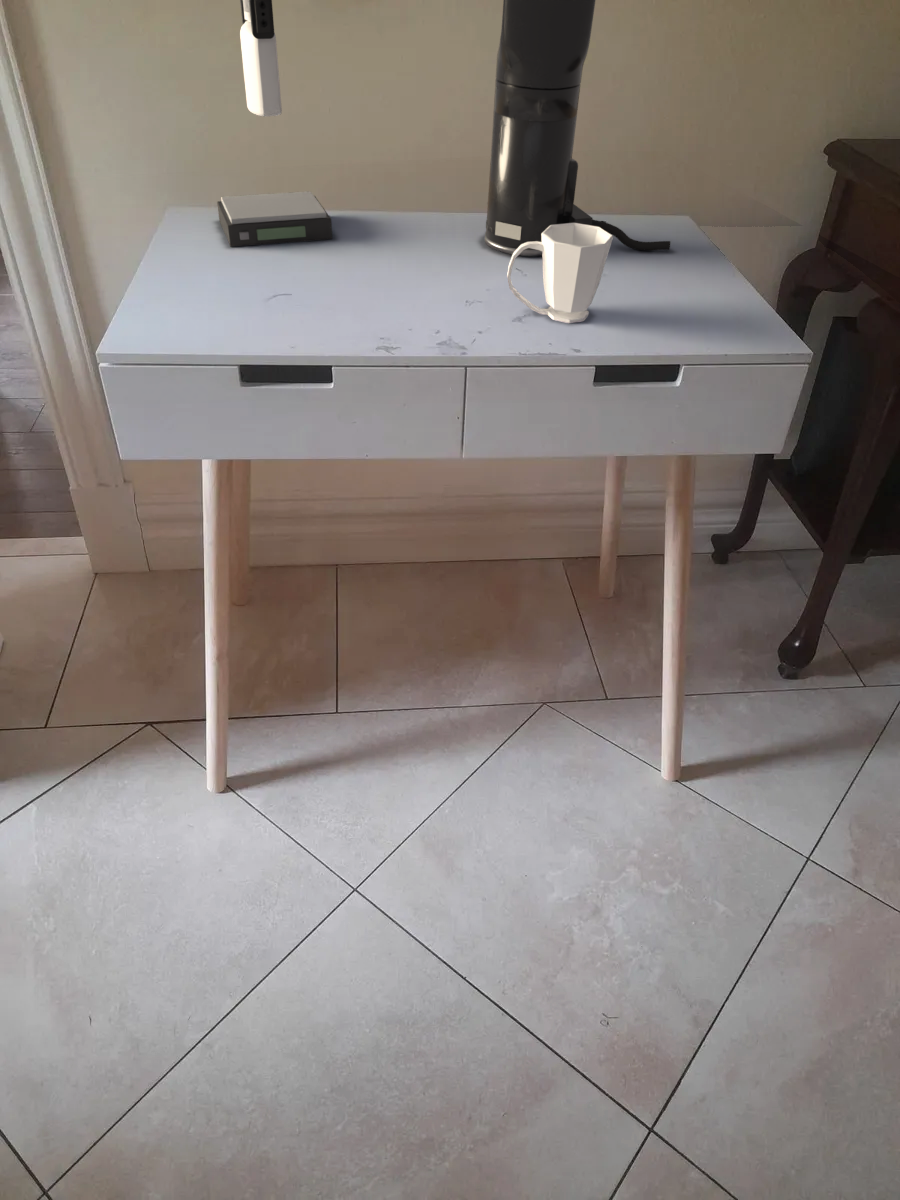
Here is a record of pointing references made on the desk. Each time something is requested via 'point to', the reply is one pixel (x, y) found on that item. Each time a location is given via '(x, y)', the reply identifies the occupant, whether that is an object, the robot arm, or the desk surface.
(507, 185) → the robot arm
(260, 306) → the desk surface
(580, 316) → the cup
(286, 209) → the scale
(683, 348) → the desk surface
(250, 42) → the eye dropper bottle
